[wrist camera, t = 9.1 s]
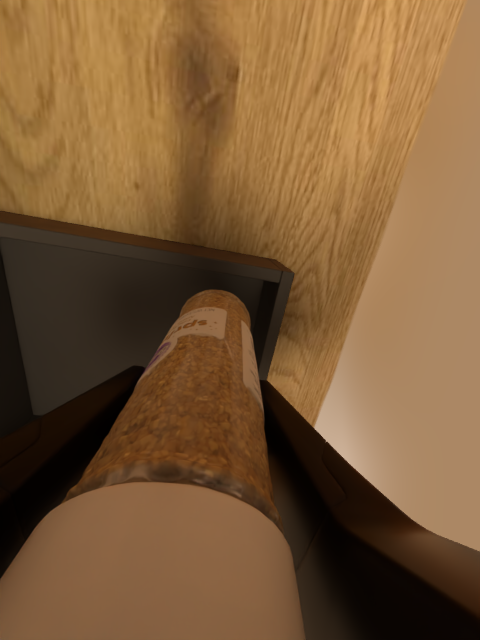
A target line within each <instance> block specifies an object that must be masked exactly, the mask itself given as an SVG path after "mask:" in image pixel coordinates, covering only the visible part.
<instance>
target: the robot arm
mask: <svg viewBox="0 0 480 640" xmlns="http://www.w3.org/2000/svg"><path fill="white" fill-rule="evenodd" d="M144 371H145V367H144V366H137V365H133V366H131V367H129V368H128V369H126V370H124V371H122V372H120V373H119V374H117V375H115V376H113V377H111V378H109V379H108V380H106V381H104V382H102V383H100V384H99V385H97V386H95V387H93V388H91V389H90V390H88V391H86V392H84V393H82V394H81V395H79V396H77V397H75V398H73V399H71V400H70V401H68V402H66V403H64V404H62V405H61V406H59V407H57V408H55V409H53V410H52V411H50V412H48V413H46V414H44V415H43V416H42V417H41V418H40V417H39V418H37V419H35V420H33V421H31V422H30V423H28V424H26V425H24V426H22V427H20V428H19V429H17V430H15V431H13V432H11V433H9V434H7V435H5V436H3V437H2V438H0V579H1V577H2V576H3V574H4V573H5V572H6V570H7V569H8V567H9V566H10V564H11V563H12V561H13V560H14V558H15V557H16V555H17V554H18V552H19V551H20V549H21V548H22V546H23V545H24V543H25V542H26V540H27V539H28V537H29V536H30V535H31V533H32V532H33V530H34V529H35V527H36V526H37V525H38V524H39V523H40V521H41V520H42V519H43V518H44V517H45V516H46V515H47V514H48V513H49V512H50V511H52V510H53V509H55V508H56V507H57V506H59V505H60V504H61V503H62V502H63V500H64V499H65V498H66V496H67V493H68V491H69V490H70V489H71V488H72V487H74V486H75V485H77V484H78V483H79V481H80V480H81V478H82V475H83V473H84V471H85V469H86V467H87V466H88V465H89V464H90V462H91V460H92V459H93V457H94V456H95V454H96V453H97V451H98V450H99V448H100V447H101V445H102V442H103V440H104V439H105V437H106V436H107V435H108V434H109V432H110V430H111V428H112V426H113V424H114V423H115V421H116V419H117V417H118V416H119V414H120V412H121V411H122V410H123V408H124V407H125V405H126V403H127V402H128V400H129V398H130V397H131V395H132V394H133V392H134V388H135V386H136V384H137V382H138V380H139V379H140V377H141V376H142V374H143V372H144ZM259 382H260V389H261V395H262V402H263V409H264V418H265V421H264V431H265V437H266V443H267V454H268V463H269V471H270V477H271V483H272V490H273V497H274V506H275V507H276V508H277V511H278V514H279V515H280V517H281V521H282V524H283V528H284V538H285V539H286V541H287V543H288V545H289V547H290V550H291V553H292V557H293V563H294V569H295V575H296V581H297V587H298V593H299V599H300V606H301V612H302V619H303V625H304V632H305V638H306V640H480V552H479V551H477V550H474V549H472V548H469V547H467V546H464V545H462V544H459V543H457V542H454V541H452V540H449V539H447V538H444V537H441V536H439V535H437V534H435V533H433V532H431V531H429V530H427V529H425V528H424V527H422V526H420V525H419V524H417V523H416V522H415V521H413V520H412V519H411V518H409V517H408V516H407V515H406V514H405V513H404V512H402V511H401V510H400V509H399V508H398V507H397V506H396V505H395V504H393V503H392V502H391V501H390V500H389V499H388V498H387V497H385V496H384V495H383V494H382V493H381V492H380V491H379V490H378V489H376V488H375V487H374V486H373V485H372V484H371V483H370V482H369V481H367V480H366V479H365V478H364V477H363V476H362V475H361V474H360V473H359V472H358V471H356V470H355V469H354V468H353V467H352V466H351V465H350V464H349V463H348V462H347V461H346V460H345V459H344V458H343V457H342V456H341V455H340V454H339V453H338V452H337V451H336V450H335V449H334V448H333V447H332V446H331V445H330V444H329V443H328V442H326V440H325V439H324V438H323V437H322V436H321V435H320V434H319V433H318V432H317V431H316V430H315V429H314V428H313V427H312V426H311V425H310V424H309V423H308V422H307V421H306V420H305V419H304V418H303V417H302V416H301V414H300V413H299V412H298V411H297V410H296V409H295V408H294V407H293V406H292V405H291V404H290V403H289V402H288V401H287V400H286V399H285V398H284V397H283V396H282V395H281V394H280V393H279V392H278V391H277V390H276V389H275V388H274V387H273V386H272V385H271V384H270V383H269V382H268V381H267V380H259ZM325 442H326V443H325Z"/></svg>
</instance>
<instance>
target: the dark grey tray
mask: <svg viewBox="0 0 480 640" xmlns="http://www.w3.org/2000/svg"><path fill="white" fill-rule="evenodd" d="M293 278H294V272H292V271H291V270H290V269H288V268H287V267H285V266H284V265H283V264H281V263H280V262H278V261H277V260H275V259H269V258H263V257H258V256H252V255H246V254H241V253H235V252H229V251H224V250H218V249H213V248H207V247H201V246H196V245H190V244H184V243H179V242H173V241H167V240H162V239H156V238H151V237H145V236H139V235H134V234H128V233H122V232H117V231H111V230H105V229H100V228H94V227H89V226H83V225H77V224H72V223H66V222H60V221H55V220H49V219H43V218H38V217H32V216H26V215H21V214H15V213H10V212H4V211H0V438H2V437H3V436H5V435H7V434H9V433H11V432H13V431H15V430H17V429H19V428H20V427H22V426H24V425H26V424H28V423H30V422H31V421H33V420H35V419H37V418H39V417H40V418H41V417H42V416H43V415H44V414H46V413H48V412H50V411H52V410H53V409H55V408H57V407H59V406H61V405H62V404H64V403H66V402H68V401H70V400H71V399H73V398H75V397H77V396H79V395H81V394H82V393H84V392H86V391H88V390H90V389H91V388H93V387H95V386H97V385H99V384H100V383H102V382H104V381H106V380H108V379H109V378H111V377H113V376H115V375H117V374H119V373H120V372H122V371H124V370H126V369H128V368H129V367H131V366H133V365H137V366H144V367H145V369H146V368H147V366H148V364H149V363H150V361H151V360H152V358H153V356H154V355H155V353H156V351H157V350H158V348H159V347H160V345H161V343H162V342H163V340H164V338H165V337H166V335H167V334H168V332H169V330H170V329H171V327H172V326H173V324H174V323H175V322H176V321H177V319H178V318H179V316H180V312H181V310H182V307H183V306H184V305H185V303H186V302H187V300H188V299H190V298H191V297H193V296H194V295H196V294H197V293H200V292H202V291H205V290H223V291H227V292H229V293H232V294H234V295H235V296H236V297H237V298H238V299H240V301H241V302H242V303H244V305H245V307H246V309H247V311H248V313H249V316H250V323H251V326H250V332H251V335H252V339H253V345H254V351H255V357H256V363H257V369H258V375H259V380H267V376H268V372H269V368H270V365H271V361H272V357H273V353H274V350H275V346H276V342H277V338H278V334H279V331H280V327H281V323H282V319H283V316H284V312H285V308H286V304H287V300H288V297H289V293H290V289H291V285H292V282H293Z"/></svg>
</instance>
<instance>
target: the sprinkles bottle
mask: <svg viewBox="0 0 480 640" xmlns="http://www.w3.org/2000/svg"><path fill="white" fill-rule="evenodd" d="M250 326H251V323H250V316H249V313H248V311H247V309H246V307H245V305H244V303H242V302H241V301H240V299H238V298H237V297H236V296H235V295H234V294H232V293H229V292H227V291H223V290H205V291H202V292H200V293H197V294H196V295H194V296H193V297H191V298H190V299H188V300H187V302H186V303H185V305H184V306H183V307H182V310H181V312H180V316H179V318H178V319H177V321H176V322H175V323H174V324H173V326H172V327H171V329H170V330H169V332H168V334H167V335H166V337H165V338H164V340H163V342H162V343H161V345H160V347H159V348H158V350H157V351H156V353H155V355H154V356H153V358H152V360H151V361H150V363H149V364H148V366H147V368H146V369H145V371H144V372H143V374H142V376H141V377H140V379H139V380H138V382H137V384H136V386H135V388H134V392H133V394H132V395H131V397H130V398H129V400H128V402H127V403H126V405H125V407H124V408H123V410H122V411H121V412H120V414H119V416H118V417H117V419H116V421H115V423H114V424H113V426H112V428H111V430H110V432H109V434H108V435H107V436H106V437H105V439H104V440H103V442H102V445H101V447H100V448H99V450H98V451H97V453H96V454H95V456H94V457H93V459H92V460H91V462H90V464H89V465H88V466H87V467H86V469H85V471H84V473H83V475H82V478H81V480H80V481H79V483H78V484H77V485H75V486H74V487H72V488H71V489H70V490H69V491H68V493H67V496H66V498H65V499H64V500H63V502H62V503H61V504H60V505H59V506H57V507H56V508H55V509H53V510H52V511H50V512H49V513H48V514H47V515H46V516H45V517H44V518H43V519H42V520H41V521H40V523H39V524H38V525H37V526H36V527H35V529H34V530H33V532H32V533H31V535H30V536H29V537H28V539H27V540H26V542H25V543H24V545H23V546H22V548H21V549H20V551H19V552H18V554H17V555H16V557H15V558H14V560H13V561H12V563H11V564H10V566H9V567H8V569H7V570H6V572H5V573H4V574H3V576H2V577H1V579H0V640H306V638H305V632H304V625H303V619H302V612H301V606H300V599H299V593H298V587H297V581H296V575H295V569H294V563H293V557H292V553H291V550H290V547H289V545H288V543H287V541H286V539H285V538H284V528H283V524H282V521H281V517H280V515H279V514H278V511H277V508H276V507H275V506H274V497H273V490H272V483H271V477H270V471H269V463H268V454H267V443H266V437H265V431H264V421H265V418H264V409H263V402H262V395H261V389H260V382H259V375H258V369H257V363H256V357H255V351H254V345H253V339H252V335H251V332H250Z"/></svg>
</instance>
